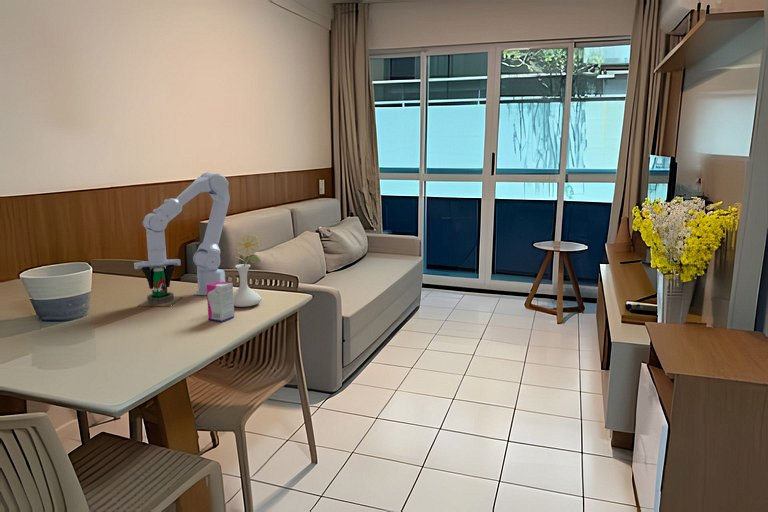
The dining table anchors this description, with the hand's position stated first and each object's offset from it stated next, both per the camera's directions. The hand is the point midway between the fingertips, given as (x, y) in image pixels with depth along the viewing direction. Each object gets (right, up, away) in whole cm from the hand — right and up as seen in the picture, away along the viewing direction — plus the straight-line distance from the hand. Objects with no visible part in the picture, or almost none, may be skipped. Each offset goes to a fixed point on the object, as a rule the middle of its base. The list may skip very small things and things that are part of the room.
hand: (159, 287), depth 182 cm
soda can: (0, -5, +1) cm, 5 cm away
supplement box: (+26, -9, -16) cm, 32 cm away
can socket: (0, -5, +1) cm, 5 cm away
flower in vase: (+31, -6, -1) cm, 31 cm away
